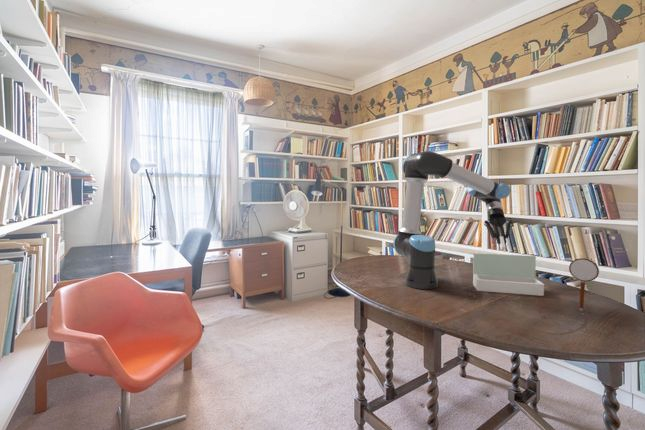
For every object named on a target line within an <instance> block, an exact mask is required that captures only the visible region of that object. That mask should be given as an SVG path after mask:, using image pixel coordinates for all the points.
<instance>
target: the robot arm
mask: <svg viewBox="0 0 645 430" xmlns="http://www.w3.org/2000/svg"><path fill="white" fill-rule="evenodd" d="M401 169H402V172H403V173H404V178H403V179H404V180H405V181H406V187H405V194H404V195H405V197H404V204H403V205H404V206H403V215H402V222H401V228H399V229H398V231H397V235H395V237H394V239H393V244H392V245H393V249H394V251H395V252H396V253H397V254H398V255H400V256H401V257H404V258H407V259H409V263H408V264H409V265H408V266H409V267H408V270H407V272H406V273H407V274H406V276H405V280H404V282H405V285H406V286H407V287H410V288H412V289H420V290H432V289H437V288H438V287H439V280H438V277H437V273H436V270H435V267H436V241H435V239H434V238H433V237H432V236H429V235H424V234H422V232H421V231H420V220H421V214H422V203H423V195H424V186H425V183H426V182H428V181H429V180H428V179H429V176H435V177H439V178H440V179H443V178H446V179H449V180H450V181H453V182H456V183H458V184H461V185H463V186H465V187H466V193H467V194H469V195H470V196H471V197H474V198H476V199H478V200H479V201H481V202H483V203H484V204H485V208H486V212H487V213H486V214H487V218H488V220H484V221H483V225H484V226H485V227H486V229H487V231H488V232H489V234H490V236H491V238H492V239H495V240H496V243H497V244H498V245H499V249H500V251H505V249H506V244H507V239H509V237H510V231H511V226H512V223H513V221H512V220H507V218H506V217H505V212H504V208H503V204H502V199H503V200H504V199H508V197H509V196H510V193H511V188H510V186H509V184H507V183H503V182H501V183H500V182H499V183H498V182H496V181H494V180H492V179H489V178H487V177H485V176H483V175H481V174H478V173H476V172H474V171H472V170H469V169H468V168H466V167H464V166H460V165H459V164H457V163H454V162H453V159H451V158H449V157H447V156H444V155H442V154H440V153H438V152H434V151H429V150H426V151H421V152H417V153H416V152H414V153H411V154H410V155H408V156H406V157H405V158H404V159H403V161H402V166H401ZM504 225H506V228H504Z"/></svg>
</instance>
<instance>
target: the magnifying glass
mask: <svg viewBox="0 0 645 430" xmlns="http://www.w3.org/2000/svg"><path fill="white" fill-rule="evenodd" d="M568 269H569V270H568V271H569V272H570V274H571V276H572V277H573V278H574V279H576V280H578V281H580V287H579V289H580V290H579V306H578V307H579V311H583V309H584V306H585V305H584V303H585V290H586V289H585V286H586V283H585V282H591V281H594V280H596V279H597V278H598V277H599V273H600V269H599V266H598V265H597V264H596V262H594V261H593V260H590V259H588V258H584V257H581V258H575V259H573V261H571V262H570V264H569V268H568Z"/></svg>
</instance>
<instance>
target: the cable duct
mask: <svg viewBox="0 0 645 430" xmlns="http://www.w3.org/2000/svg"><path fill="white" fill-rule="evenodd" d="M472 274H473V273H472ZM472 285H473V286H474V288H475V290H476V291H477V292H487V293H488V292H489V293H490V292H491V293H502V294H505V293H506V294H515V295H516V294H517V295H526V296H527V295H528V296H540V297H541V296H544V295H545V283H543V282H542V281H540V280H539V279H538V278H537V277H535V278H527V277H512V276H496V275H480V274H473V277H472Z"/></svg>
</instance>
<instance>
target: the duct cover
mask: <svg viewBox="0 0 645 430" xmlns="http://www.w3.org/2000/svg"><path fill="white" fill-rule="evenodd" d="M472 254H473V257H472V258H473V259H472V260H473V261H472V263H473V264H472V266H473V267H472V274H480V275H495V276H511V277H527V278H536V268H537V267H536V263H537V261H536V259H537V258H536V255H522V254H520V255H519V254H497V253H479V252H478V253H476V252H474V253H472Z"/></svg>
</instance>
